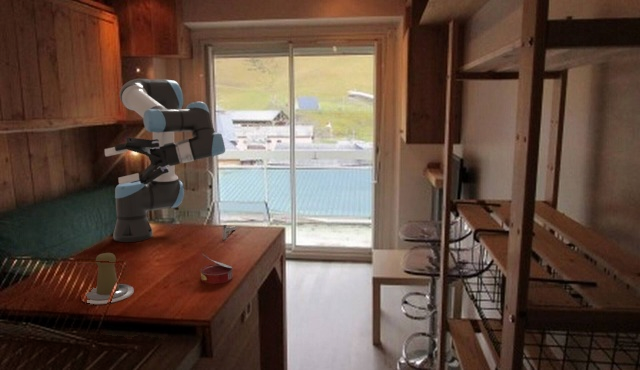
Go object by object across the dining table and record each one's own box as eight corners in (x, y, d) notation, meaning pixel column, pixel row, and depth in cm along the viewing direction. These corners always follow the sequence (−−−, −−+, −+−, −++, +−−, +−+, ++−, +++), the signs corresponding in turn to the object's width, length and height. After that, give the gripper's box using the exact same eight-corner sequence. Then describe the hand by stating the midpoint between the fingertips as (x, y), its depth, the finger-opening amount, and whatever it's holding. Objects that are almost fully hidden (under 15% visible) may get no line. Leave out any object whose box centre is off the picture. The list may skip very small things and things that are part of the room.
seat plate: (71, 295, 133) (71, 292, 133) (118, 282, 144) (118, 278, 144) (94, 309, 125) (94, 305, 124) (143, 293, 135) (142, 290, 135)
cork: (123, 288, 136) (121, 252, 134) (108, 296, 131) (105, 258, 129) (107, 285, 138) (105, 249, 136) (91, 292, 133) (88, 255, 131)
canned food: (206, 288, 152) (206, 258, 155) (236, 285, 151) (235, 255, 154) (194, 284, 141) (194, 251, 144) (227, 281, 141) (227, 248, 144)
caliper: (225, 240, 190) (225, 225, 189) (222, 240, 191) (222, 225, 190) (237, 228, 211) (237, 214, 210) (235, 228, 211) (234, 214, 210)
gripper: (170, 132, 144) (99, 148, 140) (187, 184, 163) (124, 199, 159) (167, 117, 149) (98, 131, 144) (184, 169, 168) (123, 184, 163)
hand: (112, 167), depth 152 cm, fingers open, 13 cm apart
